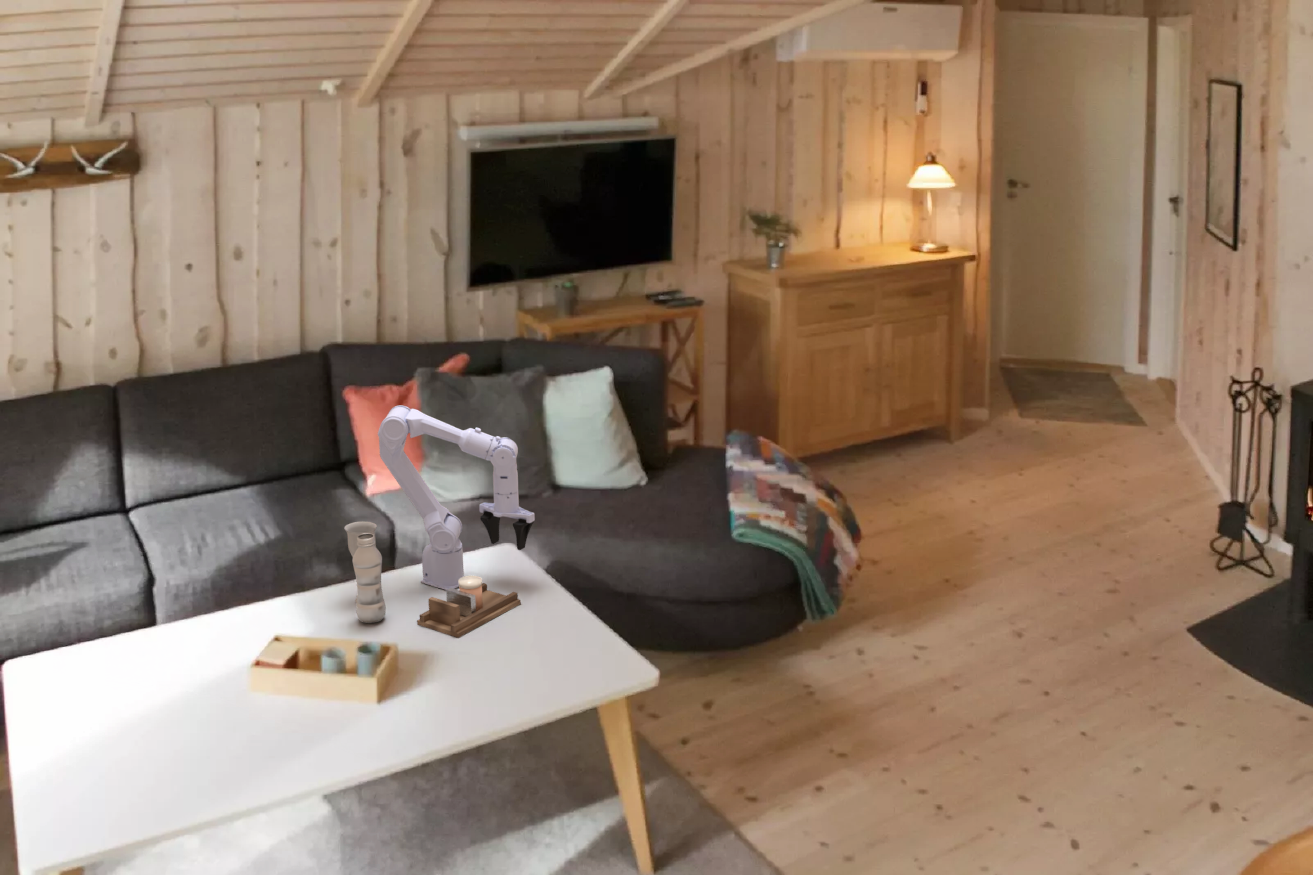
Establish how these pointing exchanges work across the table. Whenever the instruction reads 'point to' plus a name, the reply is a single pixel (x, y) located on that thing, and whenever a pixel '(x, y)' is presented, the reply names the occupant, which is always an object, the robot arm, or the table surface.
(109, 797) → the table surface
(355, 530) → the chalice
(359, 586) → the plastic bottle
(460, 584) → the jar
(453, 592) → the plate
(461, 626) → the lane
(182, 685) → the table surface
